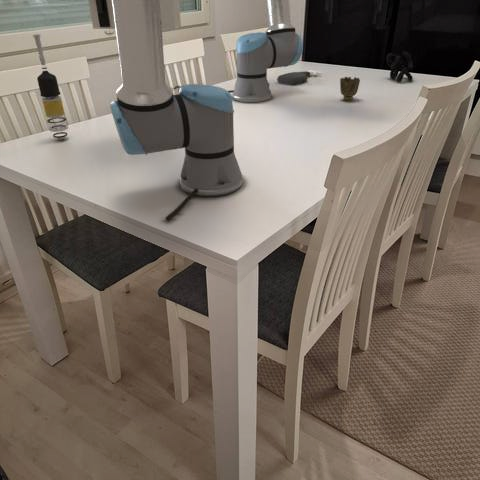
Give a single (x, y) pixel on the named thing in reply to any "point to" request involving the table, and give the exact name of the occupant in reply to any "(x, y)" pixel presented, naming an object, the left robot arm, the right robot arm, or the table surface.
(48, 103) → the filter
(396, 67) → the squiggle
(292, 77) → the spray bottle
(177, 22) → the bar
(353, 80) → the cup
